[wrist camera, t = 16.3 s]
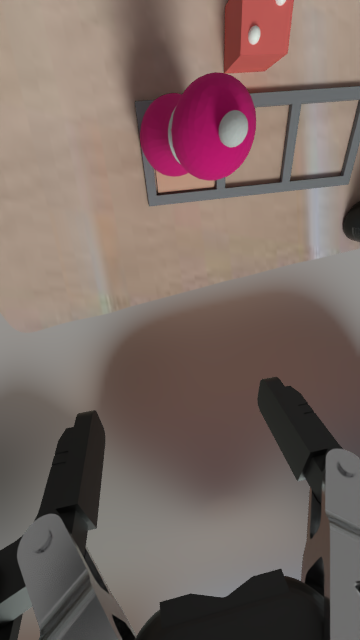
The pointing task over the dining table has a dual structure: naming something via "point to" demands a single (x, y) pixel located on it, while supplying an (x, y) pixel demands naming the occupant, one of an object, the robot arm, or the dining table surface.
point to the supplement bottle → (353, 223)
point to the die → (256, 34)
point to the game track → (295, 101)
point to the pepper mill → (200, 129)
